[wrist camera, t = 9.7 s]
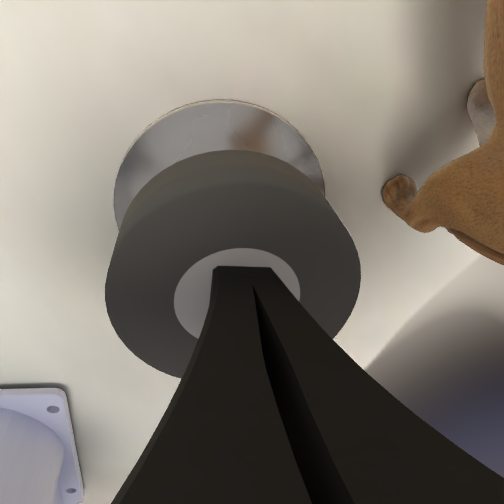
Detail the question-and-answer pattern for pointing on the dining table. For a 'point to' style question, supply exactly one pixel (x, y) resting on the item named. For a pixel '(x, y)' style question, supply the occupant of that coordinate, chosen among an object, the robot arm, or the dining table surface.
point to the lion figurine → (467, 165)
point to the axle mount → (209, 143)
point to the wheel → (223, 250)
